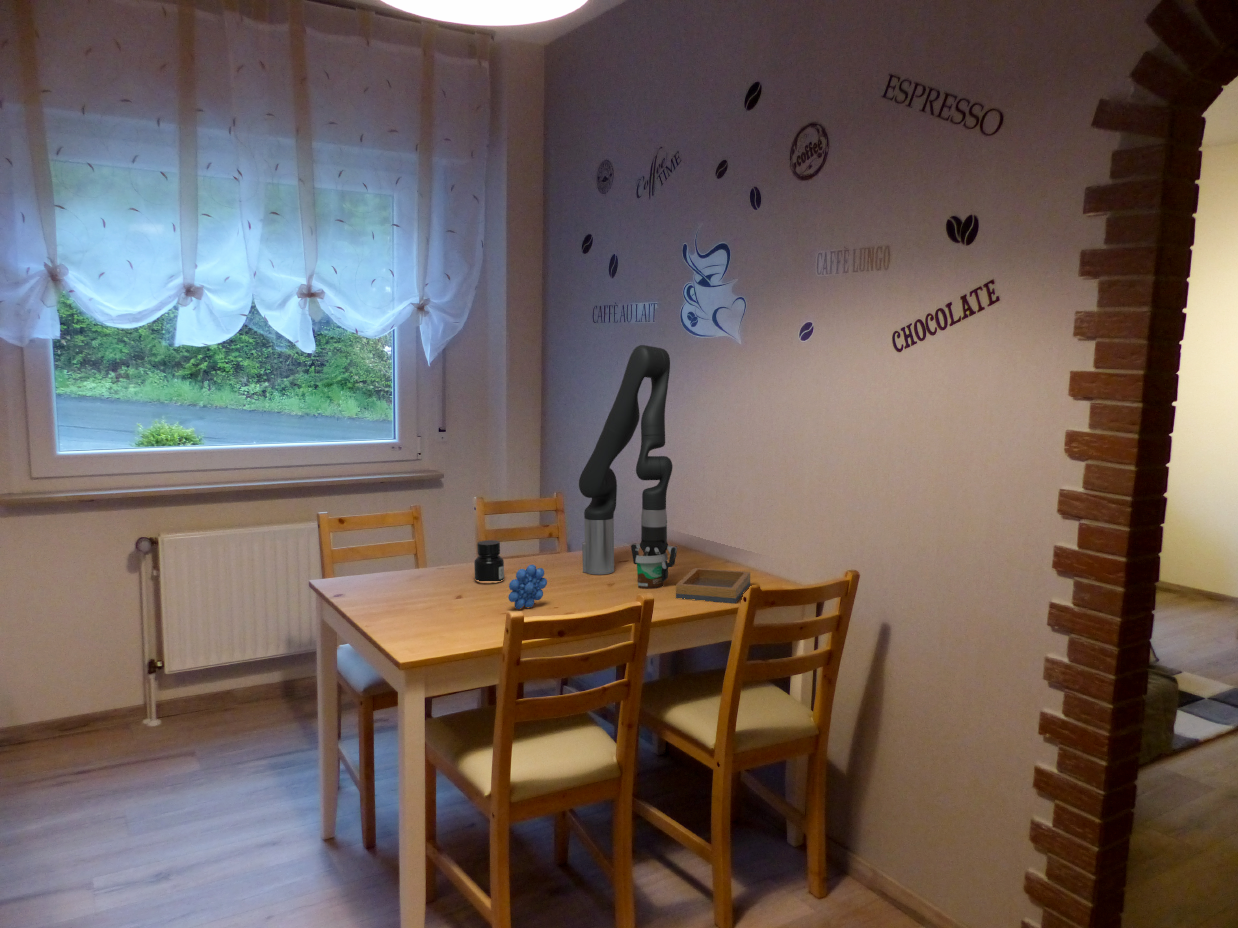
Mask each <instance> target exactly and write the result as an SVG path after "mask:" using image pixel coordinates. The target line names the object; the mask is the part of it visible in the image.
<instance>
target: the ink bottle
mask: <svg viewBox="0 0 1238 928" xmlns="http://www.w3.org/2000/svg"><path fill="white" fill-rule="evenodd" d="M476 546H477V547H476V548H477V555H478V556H477V557H476V558H475V559H474V561H473V563H474V567H473V568H474V580H475V579H476V580H479V581H501V580H503V579H504V580H505V564H504V563H505V561H504V558H503V557H502V556H500V555H501V542H500V541H499V540H495V539H494V540H493V539H488V540H481V541H478V542H477V545H476ZM504 580H503V581H504Z"/></svg>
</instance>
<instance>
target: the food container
mask: <svg viewBox="0 0 1238 928" xmlns="http://www.w3.org/2000/svg"><path fill="white" fill-rule="evenodd" d="M661 556H662V557H661ZM668 559H669V558H668V553H667V550H666V551H665V554H662V555H657V556H643V555H639V556H638V555H636V561H635V562H636V563H637V564H636V572H637V588H638V589H645V590H648V589H649V590H651V589H652V590H653V589H654V590H655V589H659V588H662V586H663V585H664V583H665V581H662V569H663V567H662V562H664V561H666V560H667V561H669V560H668ZM663 560H664V561H663ZM663 587H664V586H663Z"/></svg>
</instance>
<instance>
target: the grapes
mask: <svg viewBox="0 0 1238 928" xmlns="http://www.w3.org/2000/svg"><path fill="white" fill-rule="evenodd" d="M544 575H545V570H544V568H542V567H539V568H537V566H536V565H535V564H529V565H528V566H527V567H526V569H524V568H520V569H518V570H517V572H516V573H515V579H511V581H510V582H509V584H508V588H509V590H510V593H509V594H508V596H507V597H508V601H509V602H510V603H514V607H515V609H516V610H520V608H521V609H522V608H523V607H524V608H526V607H531V608H532V607H533V606H534V605H535V601H540V600H542V598H543V596H544V591H543V589H545V588H546V586H547V585H548V580H547V578H545V577H544Z"/></svg>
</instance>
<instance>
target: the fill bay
mask: <svg viewBox="0 0 1238 928" xmlns="http://www.w3.org/2000/svg"><path fill="white" fill-rule="evenodd" d="M749 587H751V571H743V570H731V569H729V570H728V569H716V568H715V569H714V568H713V569H712V568H699V567H694V568H693V569H691V570H690V572H689V571H688V573H687V574H686V575H685V576H683V578H682V579H680V580H679V582H677V583H676V585H675V599H676V598H682V599H681V600H685V599H695V600H694V601H697V600H705V601H704V602H709V601H713V602H712V603H722V602H723V603H724V604H734V605H735V604H737V603H738V601H739V600H740V599H741V597H742V596H743V595H744V594H743V592H744V591H745V590H746V589H747V588H748V589H749ZM748 589H747V590H748ZM747 590H746V591H747ZM746 591H745V592H746ZM745 592H744V593H745ZM742 594H743V595H742ZM741 595H742V596H741ZM684 598H685V599H684Z"/></svg>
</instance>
